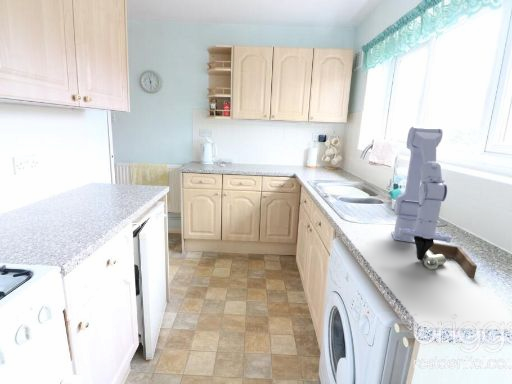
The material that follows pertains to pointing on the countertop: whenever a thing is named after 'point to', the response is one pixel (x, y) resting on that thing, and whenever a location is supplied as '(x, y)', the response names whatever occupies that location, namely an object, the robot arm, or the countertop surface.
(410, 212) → the robot arm
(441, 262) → the pipe fitting
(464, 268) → the corner arena
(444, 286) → the countertop surface
